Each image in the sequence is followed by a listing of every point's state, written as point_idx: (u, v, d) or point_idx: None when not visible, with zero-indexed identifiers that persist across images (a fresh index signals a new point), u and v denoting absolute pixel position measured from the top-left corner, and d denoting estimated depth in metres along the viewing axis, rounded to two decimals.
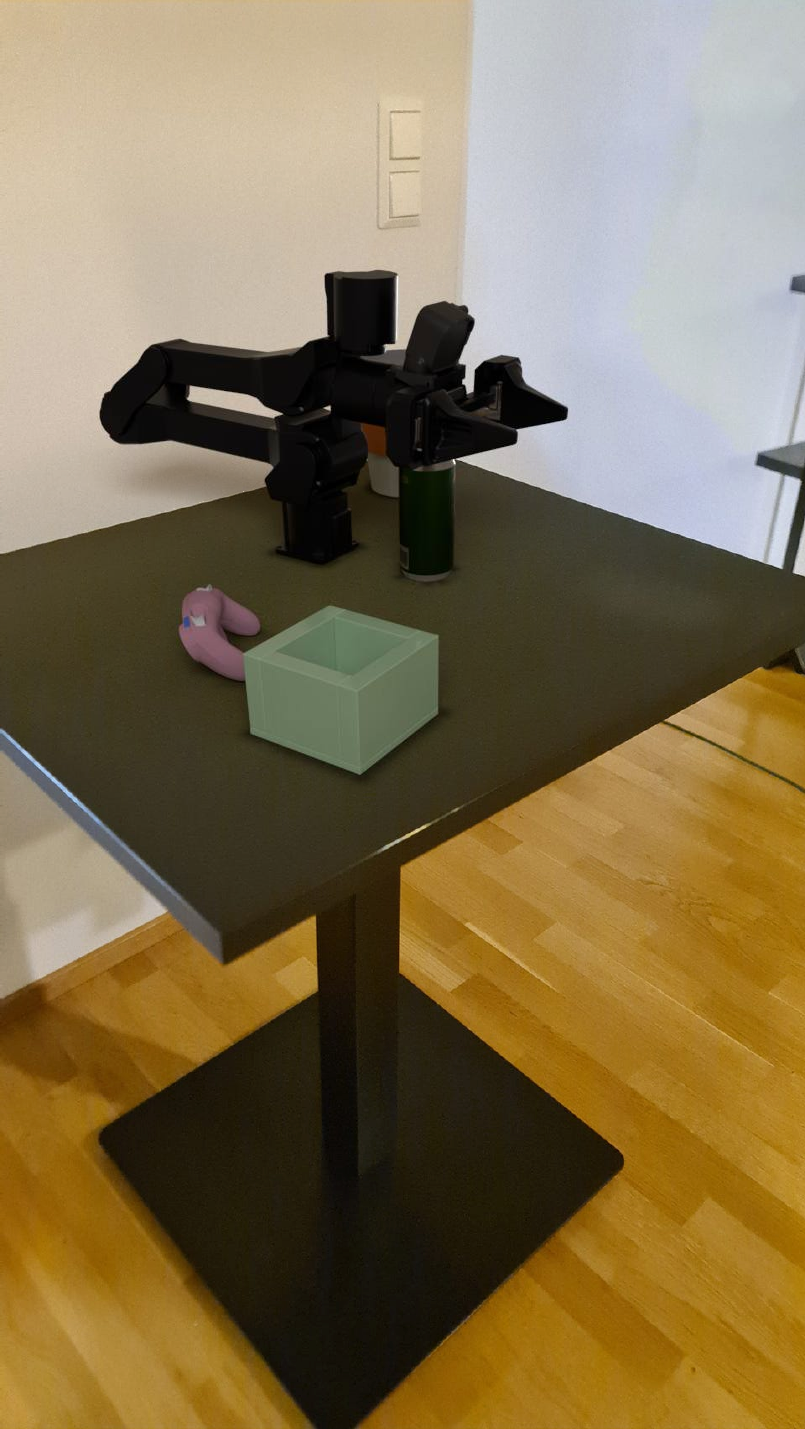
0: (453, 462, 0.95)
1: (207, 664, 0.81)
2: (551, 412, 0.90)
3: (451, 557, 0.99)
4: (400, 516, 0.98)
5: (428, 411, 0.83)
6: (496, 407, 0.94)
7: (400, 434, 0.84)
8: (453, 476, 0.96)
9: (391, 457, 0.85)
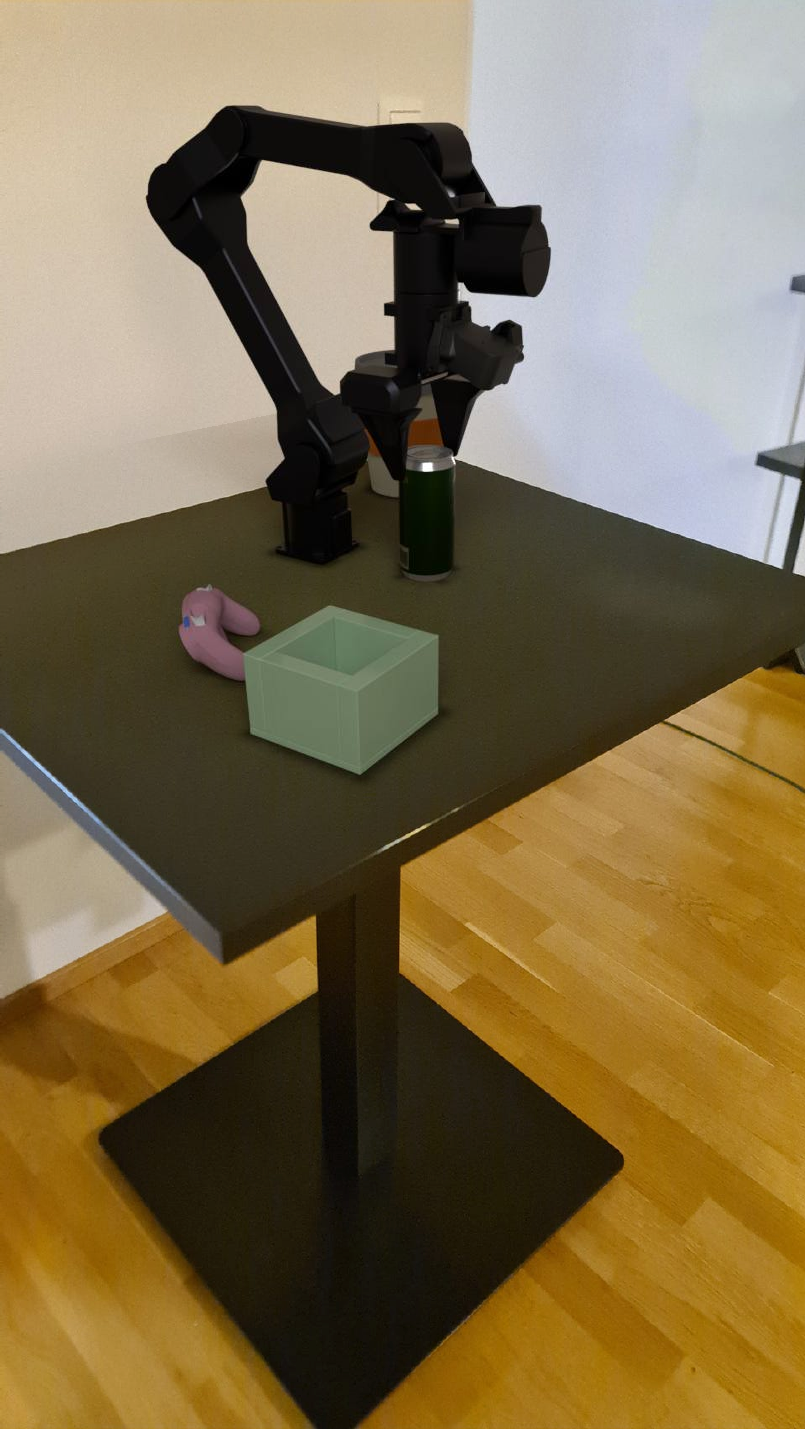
0: (453, 462, 0.95)
1: (207, 664, 0.81)
2: (450, 441, 0.99)
3: (451, 557, 0.99)
4: (400, 516, 0.98)
5: (392, 418, 0.86)
6: None
7: (364, 398, 0.85)
8: (453, 476, 0.96)
9: (344, 384, 0.86)
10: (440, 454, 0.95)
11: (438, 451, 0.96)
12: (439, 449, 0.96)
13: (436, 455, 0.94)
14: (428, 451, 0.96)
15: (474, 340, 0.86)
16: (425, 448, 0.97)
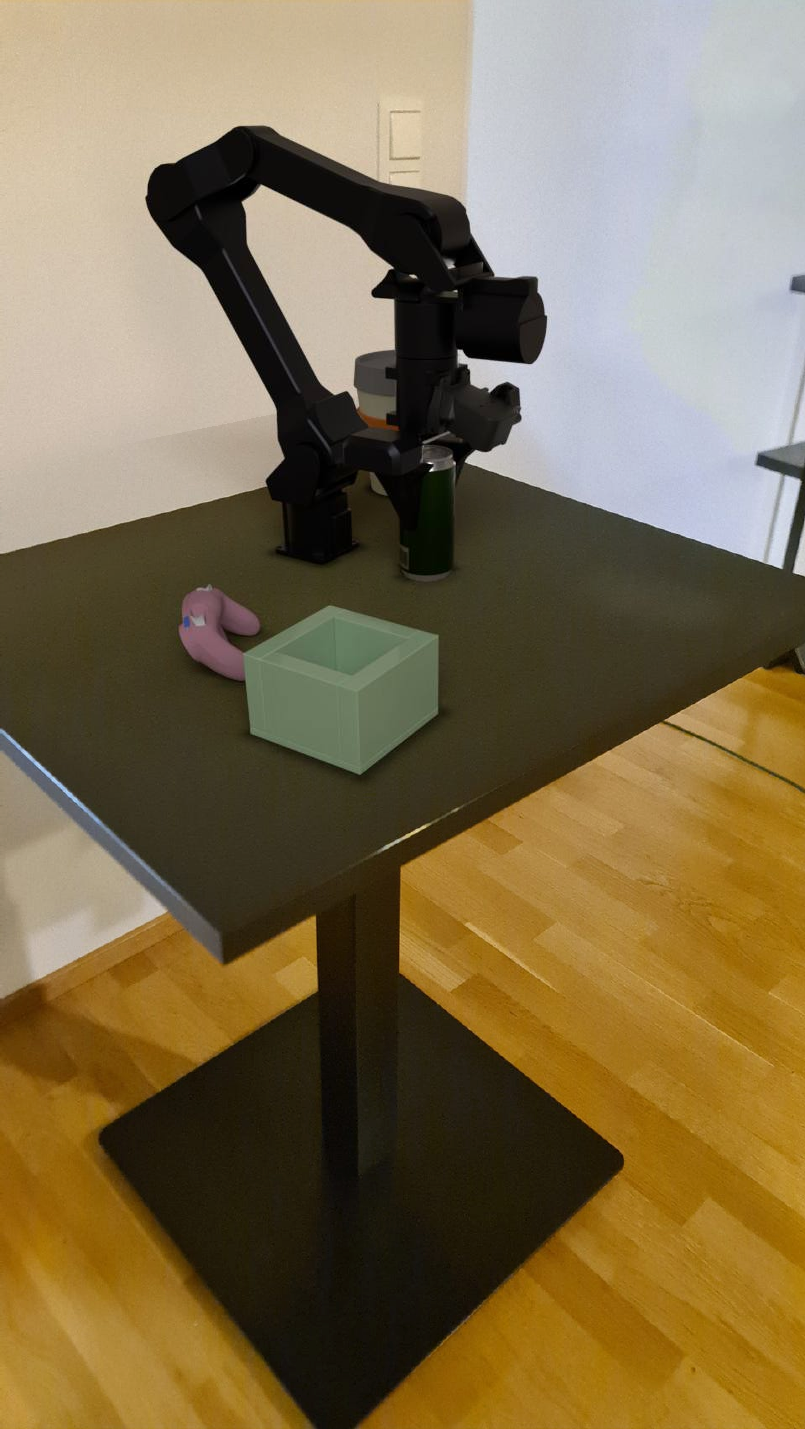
0: (453, 462, 0.95)
1: (207, 664, 0.81)
2: None
3: (451, 557, 0.99)
4: None
5: None
6: None
7: (366, 461, 0.88)
8: (453, 476, 0.96)
9: (347, 447, 0.89)
10: (440, 454, 0.95)
11: (438, 451, 0.96)
12: (439, 449, 0.96)
13: (436, 455, 0.94)
14: (428, 451, 0.96)
15: (473, 404, 0.89)
16: (425, 448, 0.97)
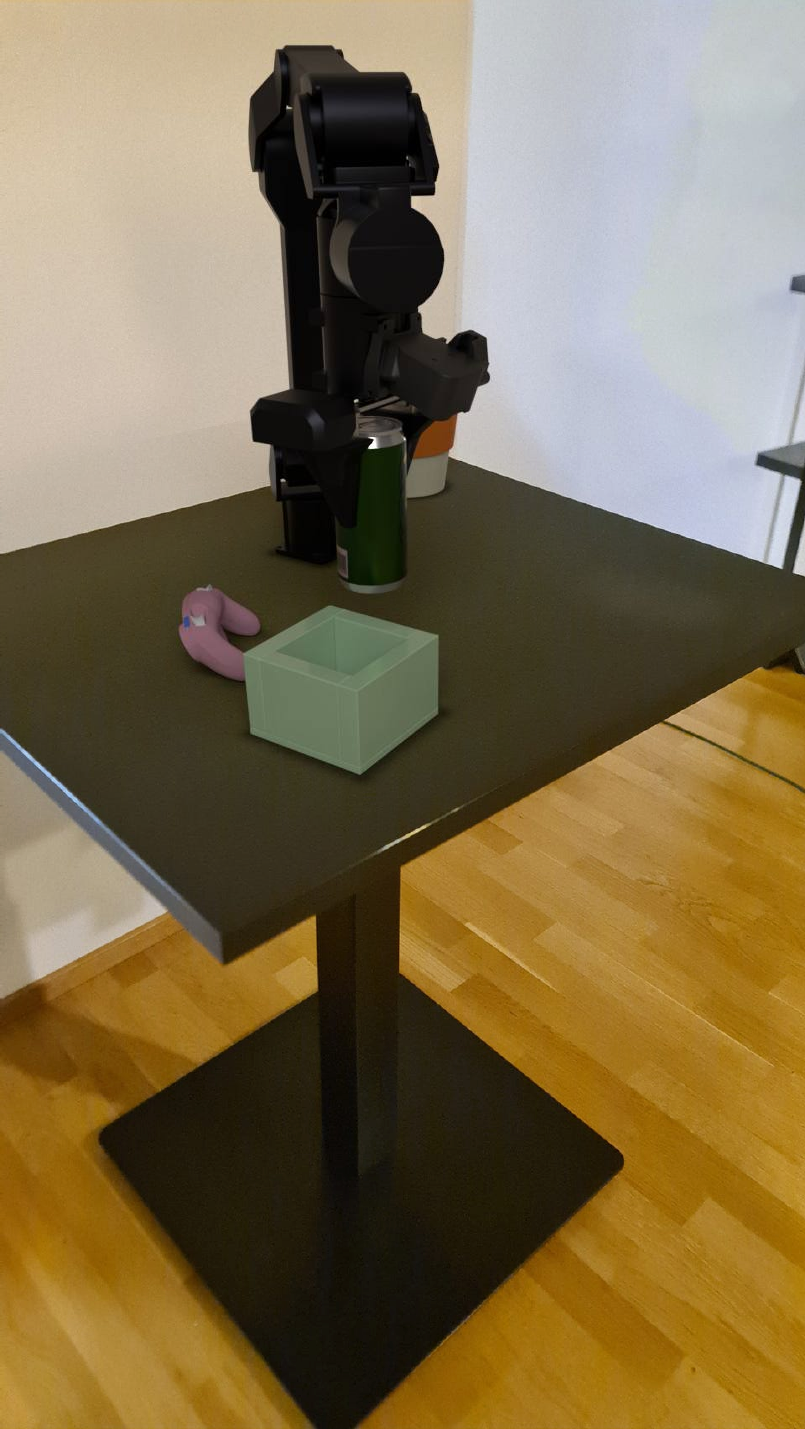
0: (403, 437, 0.73)
1: (207, 664, 0.81)
2: None
3: (403, 562, 0.77)
4: None
5: None
6: None
7: (280, 433, 0.65)
8: (403, 456, 0.73)
9: (254, 415, 0.66)
10: (385, 426, 0.72)
11: (384, 423, 0.74)
12: (385, 421, 0.74)
13: (380, 428, 0.72)
14: (370, 423, 0.73)
15: (423, 356, 0.66)
16: (367, 420, 0.74)
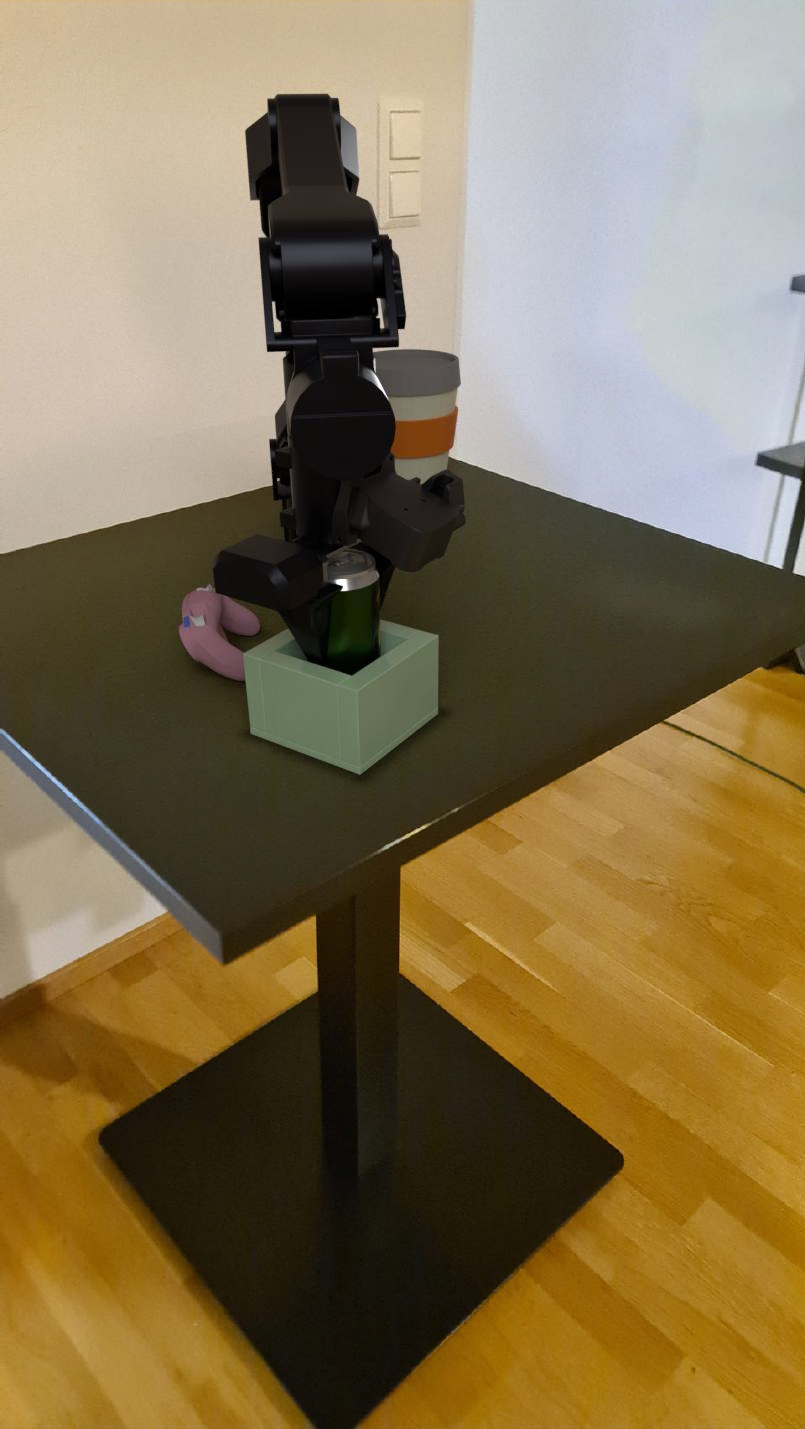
0: (375, 576, 0.69)
1: (207, 664, 0.81)
2: None
3: None
4: None
5: (302, 602, 0.65)
6: None
7: (243, 588, 0.62)
8: (376, 594, 0.70)
9: (216, 567, 0.63)
10: (357, 565, 0.69)
11: (356, 559, 0.70)
12: (358, 556, 0.71)
13: (351, 567, 0.69)
14: (342, 559, 0.70)
15: (394, 506, 0.63)
16: (339, 554, 0.71)
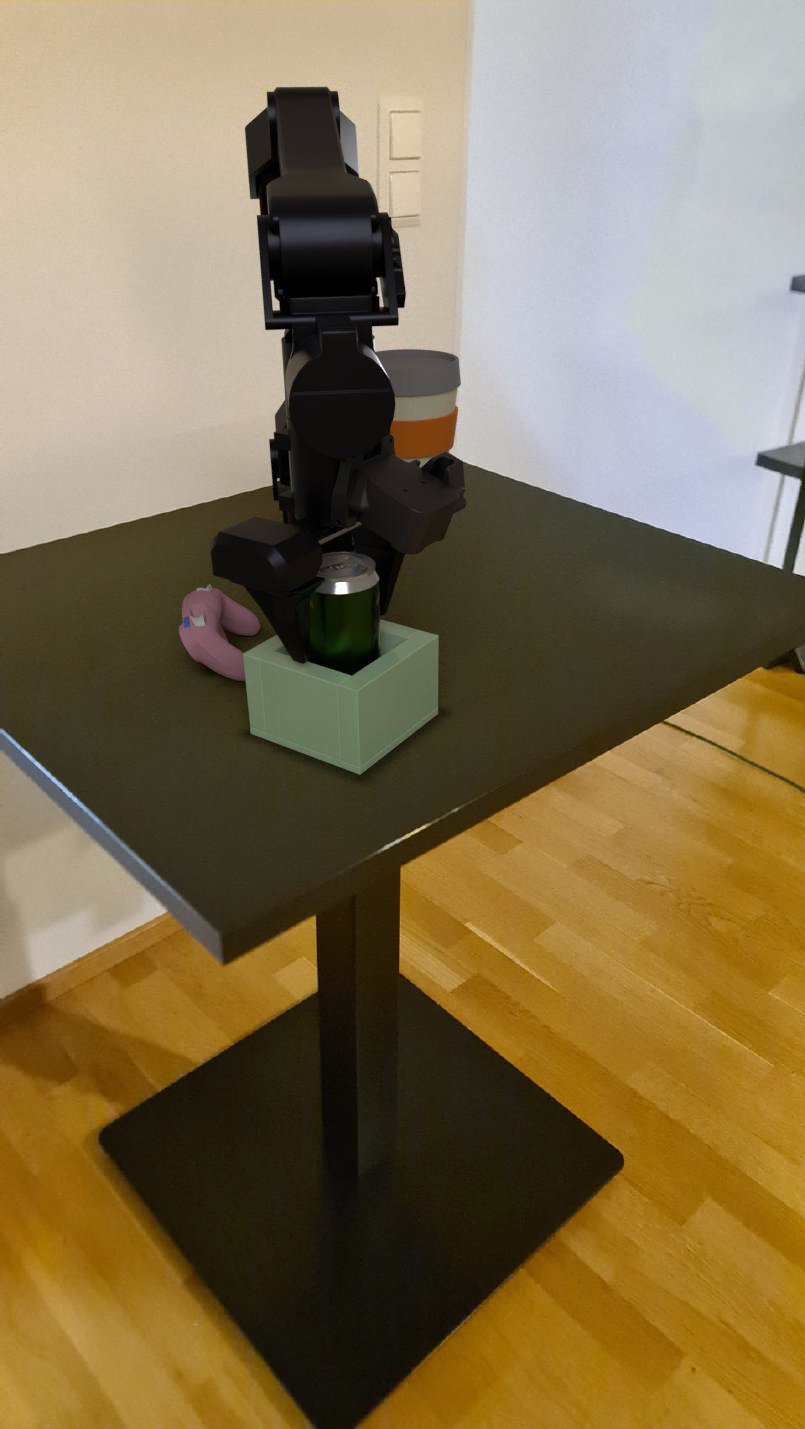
0: (375, 579, 0.70)
1: (207, 664, 0.81)
2: None
3: None
4: None
5: None
6: None
7: (241, 569, 0.62)
8: (375, 597, 0.70)
9: (214, 549, 0.62)
10: (357, 568, 0.69)
11: (356, 562, 0.71)
12: (358, 559, 0.71)
13: (351, 570, 0.69)
14: (342, 562, 0.70)
15: (394, 487, 0.62)
16: (339, 557, 0.71)
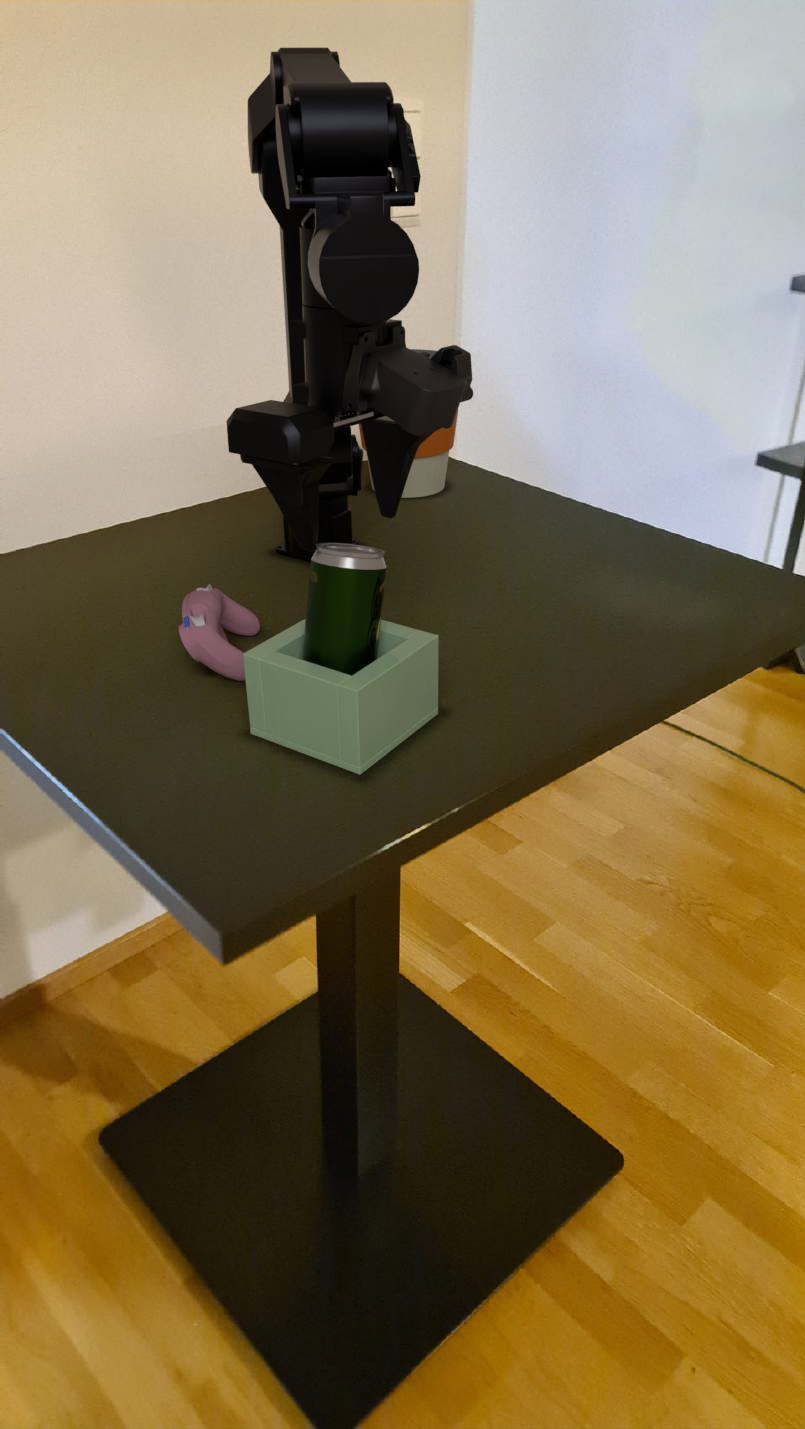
0: (382, 565, 0.71)
1: (207, 664, 0.81)
2: (386, 499, 0.78)
3: None
4: (305, 628, 0.73)
5: None
6: None
7: (256, 443, 0.64)
8: (380, 583, 0.71)
9: (231, 425, 0.65)
10: (366, 551, 0.71)
11: (368, 551, 0.72)
12: (370, 549, 0.73)
13: (360, 551, 0.70)
14: (354, 549, 0.72)
15: (404, 370, 0.65)
16: (352, 546, 0.73)
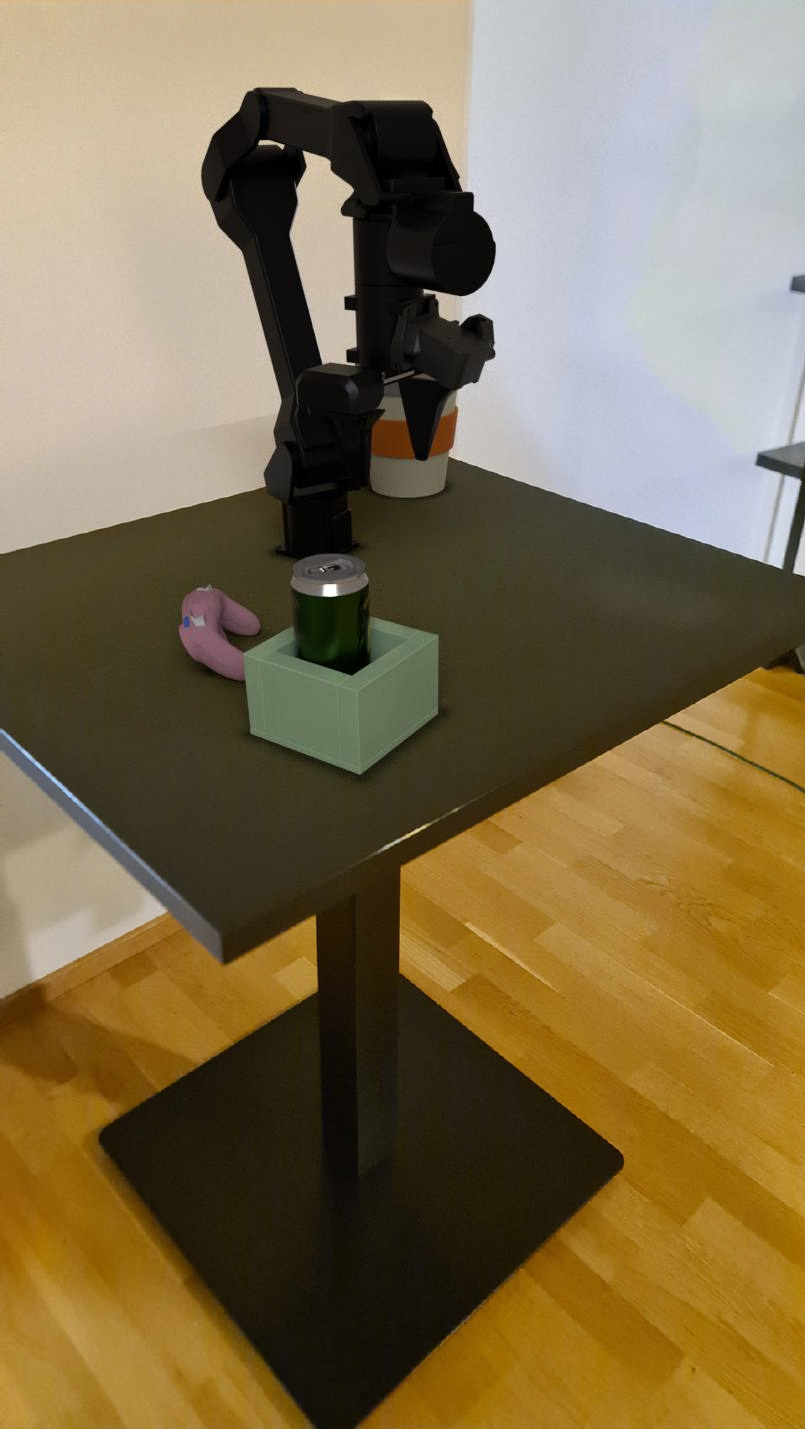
0: (363, 583, 0.69)
1: (207, 664, 0.81)
2: (419, 445, 0.92)
3: None
4: (295, 648, 0.72)
5: None
6: None
7: (322, 398, 0.79)
8: (363, 601, 0.69)
9: (300, 384, 0.80)
10: (345, 571, 0.69)
11: (347, 565, 0.70)
12: (349, 562, 0.70)
13: (338, 573, 0.68)
14: (333, 565, 0.70)
15: (440, 335, 0.80)
16: (331, 559, 0.71)
